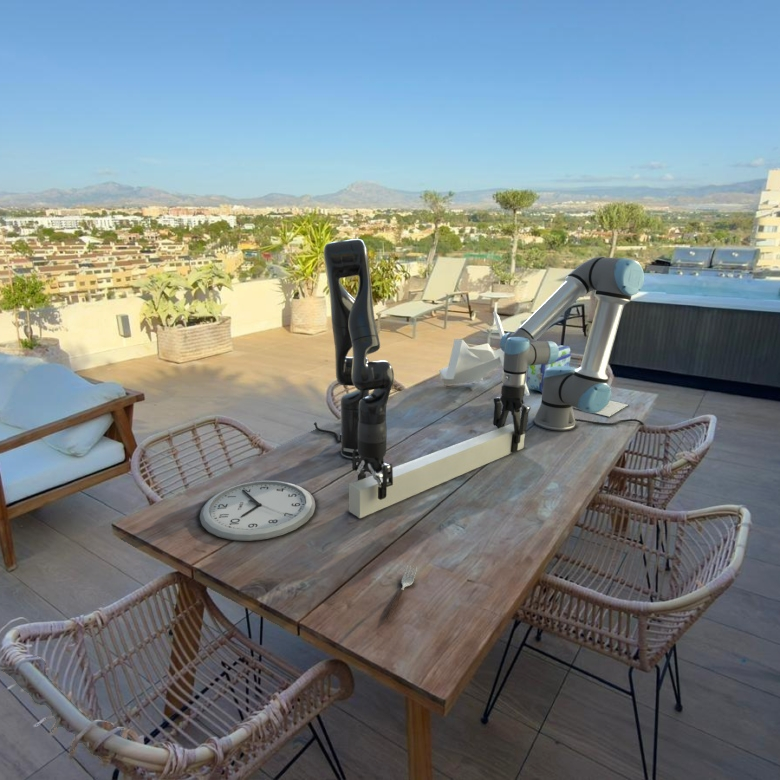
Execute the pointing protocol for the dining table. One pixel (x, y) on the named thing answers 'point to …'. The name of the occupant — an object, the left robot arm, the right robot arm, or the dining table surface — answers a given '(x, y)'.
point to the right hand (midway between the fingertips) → (507, 448)
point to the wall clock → (257, 510)
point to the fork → (405, 582)
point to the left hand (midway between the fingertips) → (371, 492)
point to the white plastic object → (473, 361)
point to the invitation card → (611, 408)
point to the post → (431, 470)
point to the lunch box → (538, 371)
